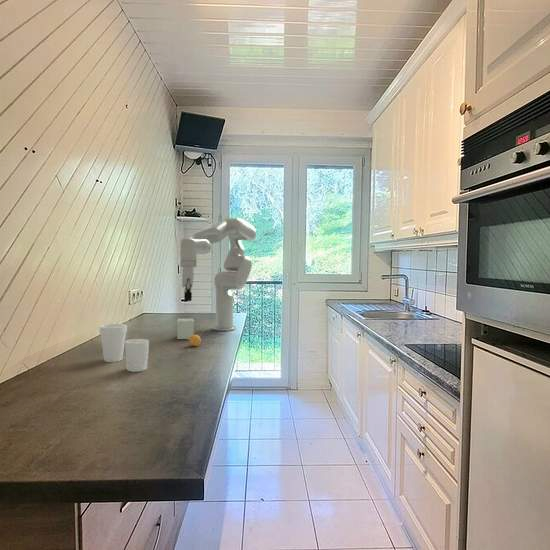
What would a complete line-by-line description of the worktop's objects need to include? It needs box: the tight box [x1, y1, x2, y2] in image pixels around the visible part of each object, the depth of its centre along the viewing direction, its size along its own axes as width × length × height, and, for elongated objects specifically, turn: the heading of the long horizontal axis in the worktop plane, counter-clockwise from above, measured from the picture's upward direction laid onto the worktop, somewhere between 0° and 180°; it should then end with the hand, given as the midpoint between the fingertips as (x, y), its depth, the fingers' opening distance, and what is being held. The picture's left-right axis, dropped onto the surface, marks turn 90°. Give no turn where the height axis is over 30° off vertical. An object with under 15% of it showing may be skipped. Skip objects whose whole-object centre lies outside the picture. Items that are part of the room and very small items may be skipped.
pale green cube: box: [176, 318, 195, 340], centre depth 191 cm, size 8×8×9 cm
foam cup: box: [99, 323, 128, 363], centre depth 149 cm, size 10×9×13 cm
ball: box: [188, 334, 202, 347], centre depth 175 cm, size 5×5×5 cm
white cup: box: [124, 338, 150, 373], centre depth 138 cm, size 8×8×10 cm
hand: (187, 299), depth 190 cm, fingers open, 9 cm apart
